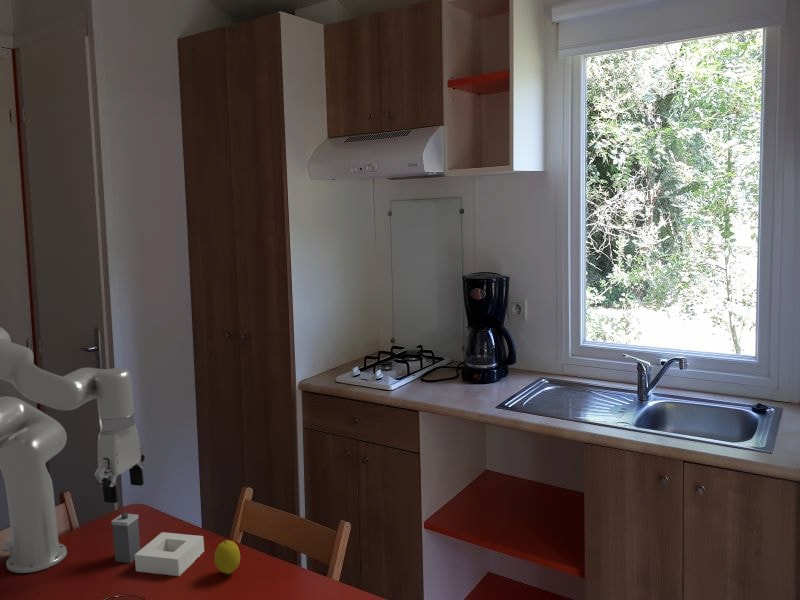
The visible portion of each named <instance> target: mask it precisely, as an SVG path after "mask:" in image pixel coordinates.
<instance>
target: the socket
mask: <svg viewBox="0 0 800 600" xmlns="http://www.w3.org/2000/svg"><path fill="white" fill-rule="evenodd" d="M204 544H205V542H204V536H203V535H193V534H187V533H186V534H183V533H173V532H165V531H164V532H163V531H162V532H160V533H159V534H158V535H157V536H155V537H154V539H153V538H152V540H151V541H149V542H148V543H147V544H146V545H144V546H143V547H142V548H140V551H138V552H137V553H136V554H135V560H134V564H135V572H138V573H139V572H140V573H149V574H156V575H167V576H175V577H180V576H181V575H182V574H183V573H184V572H185V571H186V570H188V568H189V567H191V566H192V564H194V563H195V562H196V561H195V560H196V559H197V558H198V557H199V558H200V557H201V556H202V555H203V554H204V553H205V545H204ZM203 552H204V553H203ZM202 553H203V554H202ZM201 554H202V555H201ZM200 555H201V556H200ZM199 558H198V559H199ZM198 559H197V560H198Z"/></svg>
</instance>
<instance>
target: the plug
mask: <svg viewBox="0 0 800 600" xmlns="http://www.w3.org/2000/svg"><path fill="white" fill-rule="evenodd" d="M110 523H111V525H112V533H113V534H112V535H113V545H114V546H113V547H114V559H115V560H114V561H115V562H116V563H117V562H118V563H125V564H126V563H128V564H131V563H133V561H134V562H135V554H136V553H137V552H138V551H140V550H141V541H140V528H139V514H134V513H128V512H122V513H121V514H119V515H118V516H117V517H115V518H113V520H111V522H110Z"/></svg>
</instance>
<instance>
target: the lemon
mask: <svg viewBox="0 0 800 600" xmlns="http://www.w3.org/2000/svg"><path fill="white" fill-rule="evenodd" d="M240 561H241V553H240V548H239V546H238V544H237V543H236V542H234V541H233V540H228V539H225V540H224V541H222V542H221V543H219V544H218V545H217V547H216V548H215V551H214V563H215V566H216V568H217V570H218V571H219V572H221V573H224V574H226V575H230V574H231V573H233V572H234V571H236V570H237V568H238V567H239V565H240Z"/></svg>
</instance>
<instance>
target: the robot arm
mask: <svg viewBox="0 0 800 600" xmlns="http://www.w3.org/2000/svg"><path fill="white" fill-rule="evenodd" d="M34 358H35V357H34V352H33V350H32V349H31V348H29V347H26V346H24V345H21V344H17V343H15V342H12V340H11V335H10V333H8V332H7V331H6V330H5V329H4V328H3V327H1V326H0V380H2V381H4V382H7V383H10V384H12V386H13V387H14V388H15V389H16V390H17V391H18V392H19V393H21V394H22V395H23V396H24V397H25V398H27V399H28V400H30V401H32V402H34V403H37V404H40V405H42V406H46V407H48V408H51V409H54V410H59V411H72V410H75V409H78V408H79V407H81V406H82V405H84V404H86V403H87V402H89V401H92V400H94V399H96V401H97V402H96V403H97V411H98V413H97V414H98V421H99V430H100V432H99V433H98V438H97V468H96V470H95V471H94V474H93V475H94V477H95V479H96V480H97V484H99V485H100V487H102V493H103V502H104V503H109V504H116V503H118V502H119V497H118V488H117V485H115V484H116V481H117V477H118V476H120V475H121V474H123V473H124V472H126V471H128V470H129V472H128V473H129V482H130V485H131V486H137V487H138V486H139V487H141V486H143V485H145V483H144V474H143V473H144V472H143V468H144V467H145V466H144V461H145V458H146V456H145V455H146V447H147V446H145V445H141V442H140V436H139V432H138V428H137V424H136V417H135V407H134V396H133V388H132V387H133V385H132V376H131V373H130V371H129V370H128V369H127V368H122V367H116V368H115V367H113V368H106V369H105V368H95V367H81V368H79V369H76V370H73V371H72V372H70V373H68V374H66V375H64V376H62V375H58V374H56V373H52V372H50V371H47V370H44V369H42V368H40V367H38V366H37V365H36V364H35V363H34V360H35V359H34ZM67 435H68V434H67V432H66V430H65V428H64V426H63V425H62V424H61V423H60V422H59V421H57V420H56V419H55V418H53V417H51V416H50V415H48V414H46V413H45V412H43V411H41V409H38V408H37V407H34V406H33V405H31V404H29V403H28V402H26V401H24V400H22V399H20V398H18V397H15V396H14V397H13V396H5V395H4V396H0V442H2V441H3V440H4V441H3V443H2V444H1V445H0V471H1V474H2V478H3V481H4V487H5V492H6V501H7V508H8V517H9V529H10V537H11V538H10V537H9V538H6V539H5V540H4V544H3V545H2V546H1V549H0V550H1V551H2V552H9V557H8V558H7V560H6V569H7V570H8V571H10V572H12V573H16V574H28V573H35V572H39V571H43V570H46V569H48V568H50V567H54V566H55V565H57V564H58V563H60V562H62V561H63V560H64V559H65V557H67V554H68V551H67V547H66V546H65V545H64V544H62V543H60V542H59V534H58V524H57V514H56V503H55V493H54V486H53V485H54V484H53V480H52V477H51V475H50V473H49V471H48V468H47V466H46V463H47V462H49V461H50V460H51V459H53V458H54V457H55V456H56V455H57V454H59V453H60V452H61V451H62V450H63V449H64V448H65V446H66V443H67V439H68V436H67ZM6 438H7V439H6ZM112 471H113V472H112ZM109 477H110V479H109Z"/></svg>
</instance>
